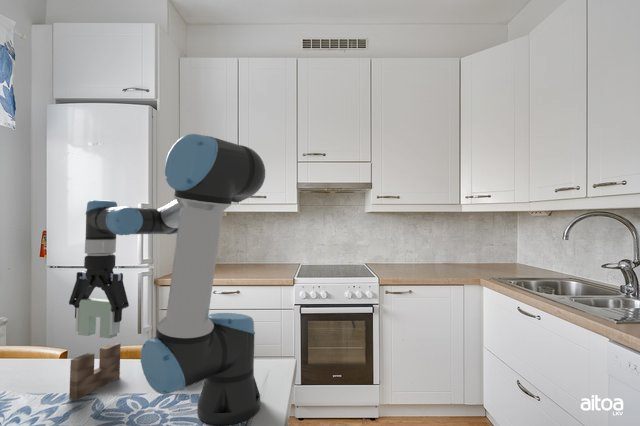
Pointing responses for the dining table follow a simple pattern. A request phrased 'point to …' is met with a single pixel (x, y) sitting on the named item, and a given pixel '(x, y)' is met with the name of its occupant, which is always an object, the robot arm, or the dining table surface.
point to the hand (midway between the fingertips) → (97, 331)
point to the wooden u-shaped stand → (94, 371)
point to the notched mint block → (94, 317)
